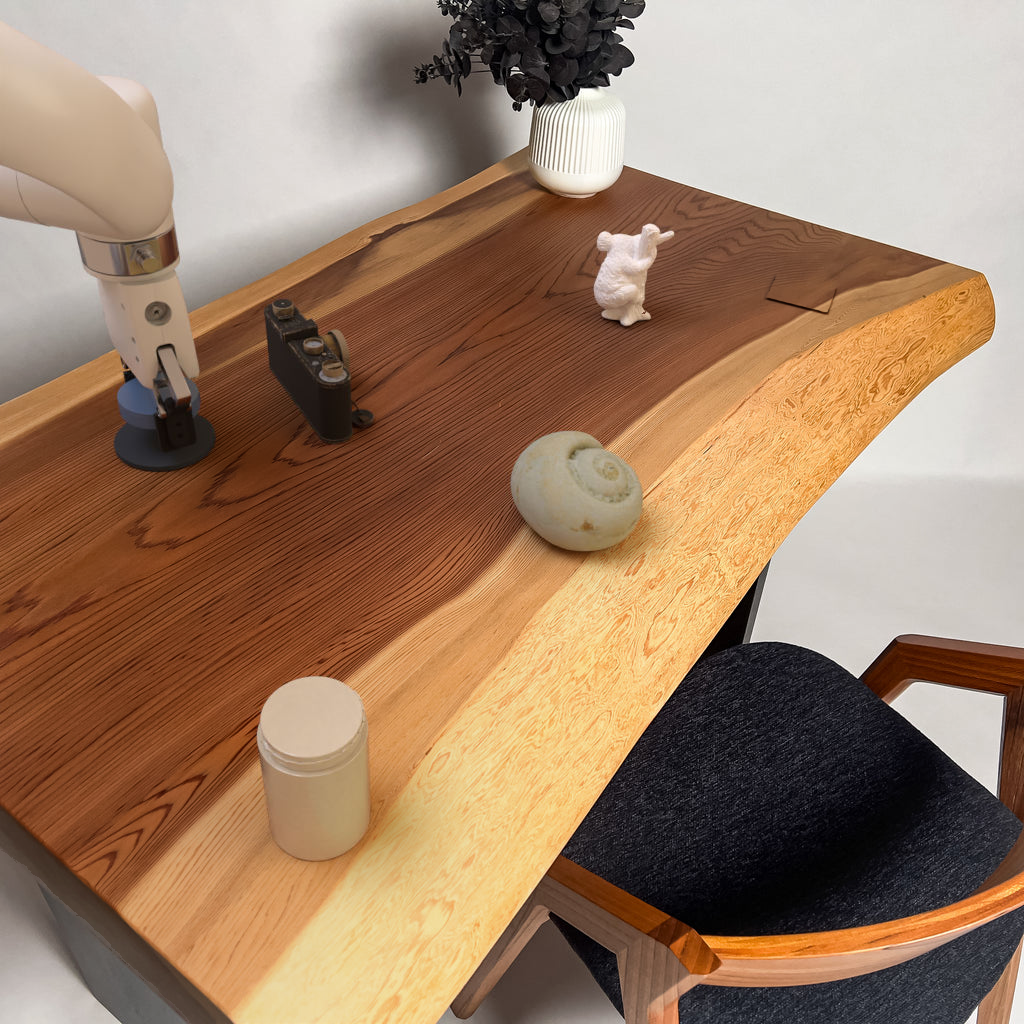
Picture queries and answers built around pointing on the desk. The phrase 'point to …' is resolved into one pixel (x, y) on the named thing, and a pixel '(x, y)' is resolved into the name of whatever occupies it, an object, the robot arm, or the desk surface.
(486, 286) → the desk surface
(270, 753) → the jar
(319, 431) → the camera
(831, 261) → the desk surface
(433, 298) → the desk surface
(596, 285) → the koala figurine
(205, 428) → the coaster
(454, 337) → the desk surface
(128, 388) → the jar lid
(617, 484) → the seashell
